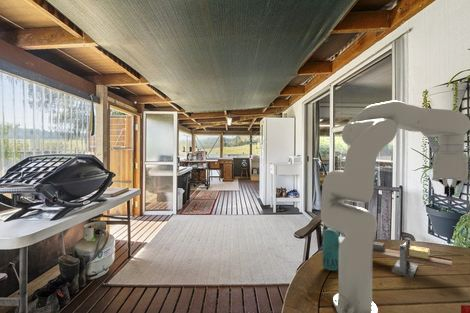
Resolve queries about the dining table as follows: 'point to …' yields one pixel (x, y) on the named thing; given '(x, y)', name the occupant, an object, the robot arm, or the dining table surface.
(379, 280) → the dining table surface
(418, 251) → the block
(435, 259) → the beam
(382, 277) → the dining table surface
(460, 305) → the dining table surface
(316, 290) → the dining table surface
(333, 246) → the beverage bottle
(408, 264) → the stand
